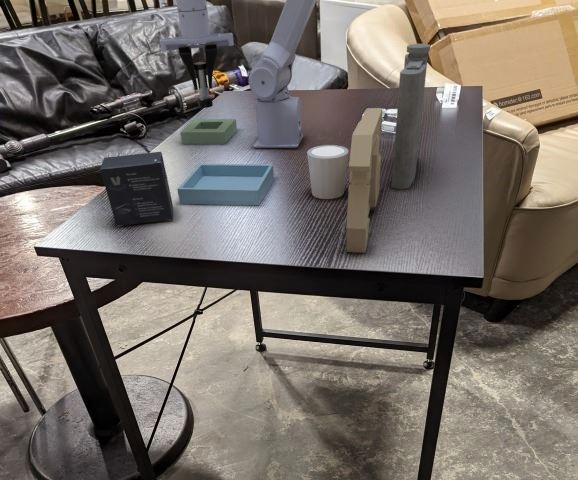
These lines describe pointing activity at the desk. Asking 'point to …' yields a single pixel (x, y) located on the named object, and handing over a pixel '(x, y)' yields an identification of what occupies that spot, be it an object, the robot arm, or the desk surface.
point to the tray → (226, 184)
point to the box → (137, 188)
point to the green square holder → (208, 131)
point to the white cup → (327, 170)
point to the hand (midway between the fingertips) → (203, 88)
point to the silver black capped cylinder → (203, 86)
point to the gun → (363, 178)
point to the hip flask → (409, 115)
